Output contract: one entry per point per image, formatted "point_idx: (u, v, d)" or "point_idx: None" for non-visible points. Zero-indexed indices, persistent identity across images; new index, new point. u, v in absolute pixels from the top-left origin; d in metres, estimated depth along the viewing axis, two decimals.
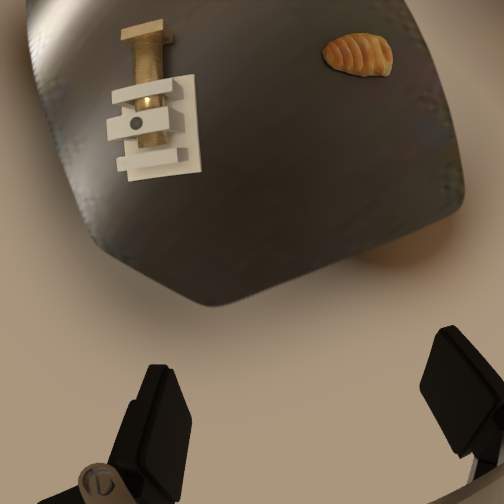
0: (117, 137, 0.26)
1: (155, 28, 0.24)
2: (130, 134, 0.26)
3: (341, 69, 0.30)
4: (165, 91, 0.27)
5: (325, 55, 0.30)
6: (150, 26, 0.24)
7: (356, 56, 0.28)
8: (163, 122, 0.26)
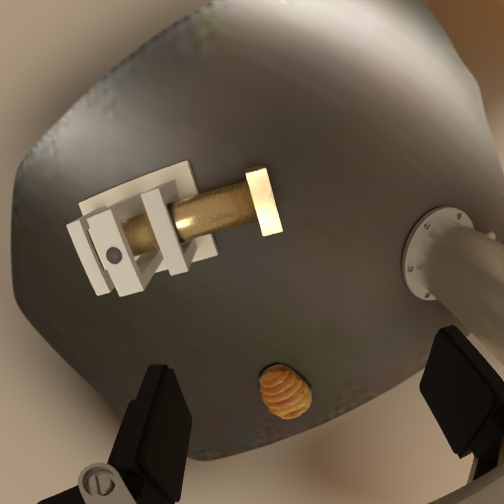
0: (92, 232, 0.20)
1: (265, 225, 0.23)
2: (100, 250, 0.21)
3: (260, 384, 0.36)
4: (168, 266, 0.24)
5: (270, 370, 0.35)
6: (269, 216, 0.23)
7: (276, 397, 0.35)
8: (124, 288, 0.22)
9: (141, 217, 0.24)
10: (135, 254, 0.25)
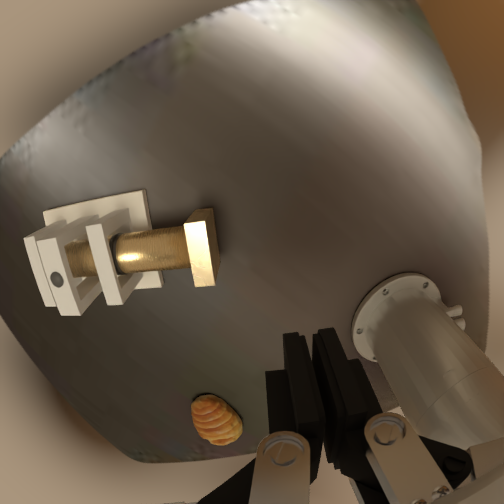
0: (40, 254, 0.19)
1: (198, 276, 0.23)
2: (46, 271, 0.20)
3: None
4: (106, 297, 0.23)
5: (201, 399, 0.35)
6: (203, 268, 0.22)
7: (204, 424, 0.34)
8: (64, 309, 0.21)
9: (89, 243, 0.23)
10: (81, 276, 0.24)
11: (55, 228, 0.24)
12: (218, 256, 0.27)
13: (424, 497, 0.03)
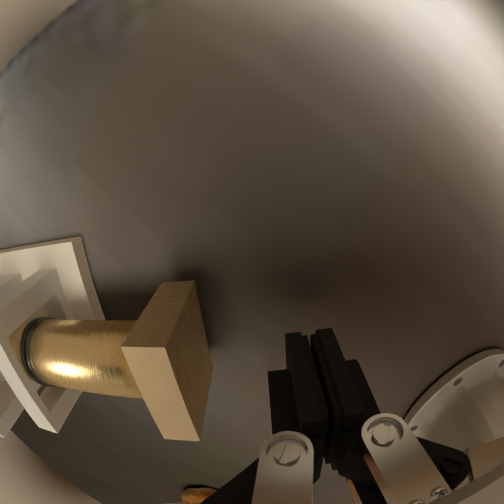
0: None
1: (166, 428, 0.10)
2: None
3: (182, 499, 0.22)
4: (33, 417, 0.10)
5: (193, 493, 0.22)
6: (174, 419, 0.10)
7: None
8: None
9: None
10: None
11: None
12: (208, 365, 0.14)
13: (421, 499, 0.03)
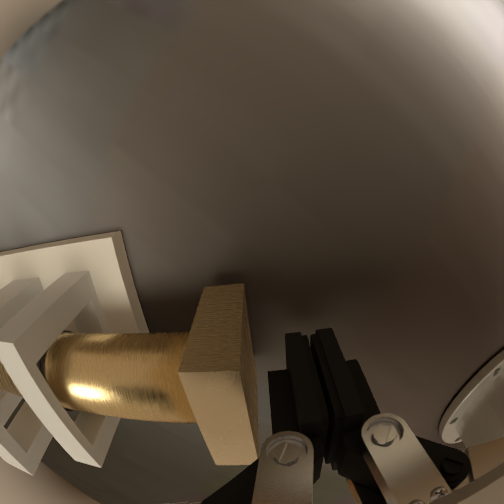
0: None
1: (222, 455, 0.08)
2: None
3: None
4: (68, 451, 0.09)
5: None
6: (233, 446, 0.08)
7: None
8: (7, 459, 0.07)
9: None
10: None
11: None
12: (255, 376, 0.12)
13: (421, 499, 0.03)
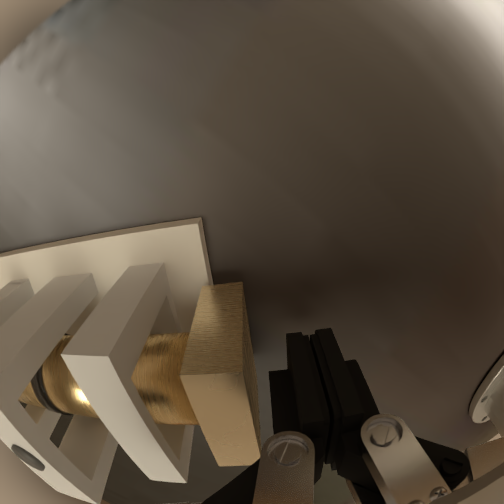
0: None
1: (225, 456, 0.08)
2: None
3: None
4: (145, 471, 0.08)
5: None
6: (236, 447, 0.08)
7: None
8: (62, 490, 0.07)
9: None
10: None
11: (6, 305, 0.10)
12: (255, 375, 0.12)
13: (420, 499, 0.03)
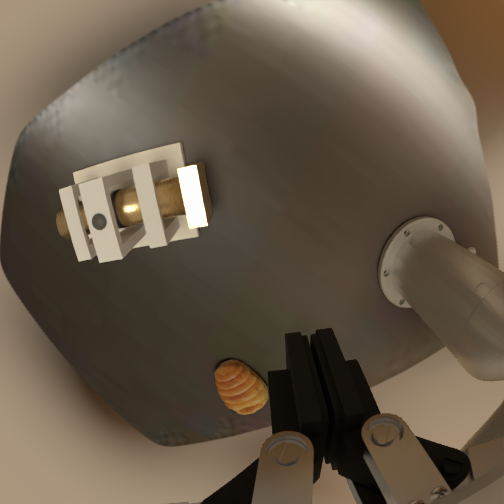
0: (82, 197, 0.21)
1: (191, 218, 0.24)
2: (87, 215, 0.21)
3: (215, 378, 0.37)
4: (149, 239, 0.24)
5: (224, 365, 0.37)
6: (195, 210, 0.24)
7: (230, 392, 0.36)
8: (104, 255, 0.23)
9: None
10: None
11: None
12: (210, 206, 0.28)
13: (421, 499, 0.03)
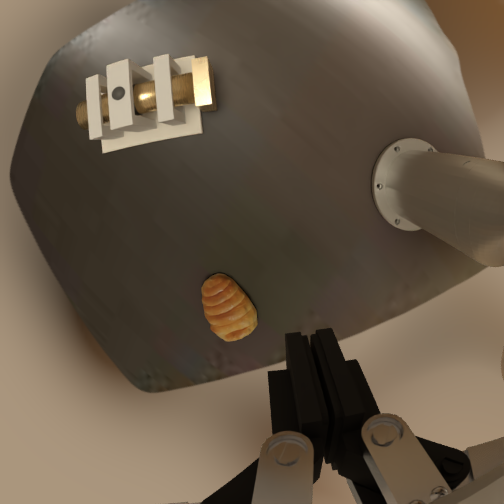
0: (108, 75, 0.22)
1: (198, 97, 0.25)
2: (108, 89, 0.22)
3: (202, 294, 0.38)
4: (158, 114, 0.25)
5: (212, 277, 0.37)
6: (203, 90, 0.25)
7: (216, 309, 0.37)
8: (116, 122, 0.23)
9: None
10: None
11: None
12: (215, 102, 0.29)
13: (421, 499, 0.03)
